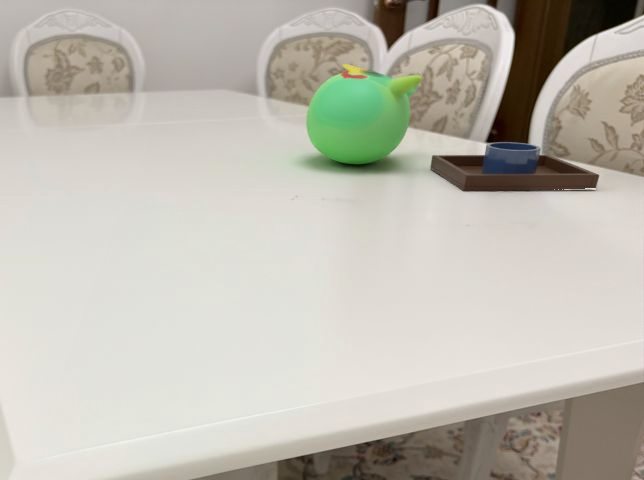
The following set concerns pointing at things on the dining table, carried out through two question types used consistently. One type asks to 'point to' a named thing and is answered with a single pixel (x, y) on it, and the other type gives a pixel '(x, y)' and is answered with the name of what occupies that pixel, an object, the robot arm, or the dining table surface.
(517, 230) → the dining table surface
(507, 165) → the blue bowl
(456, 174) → the serving tray
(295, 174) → the dining table surface
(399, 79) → the toy bird
